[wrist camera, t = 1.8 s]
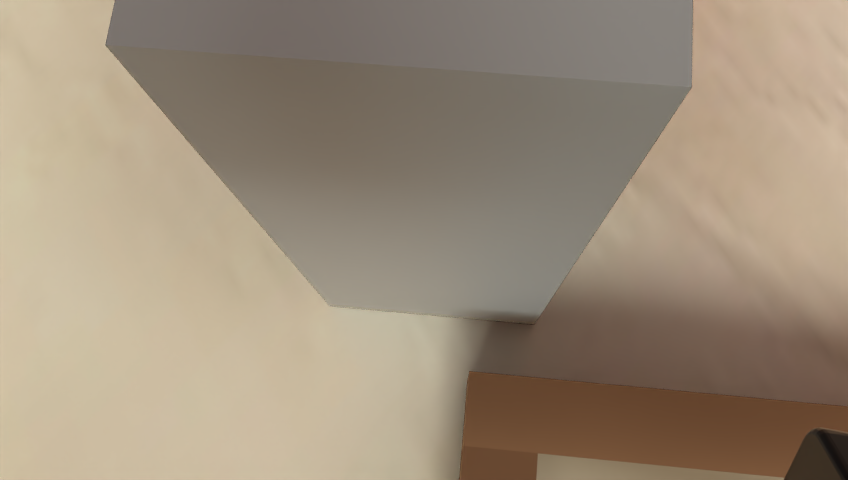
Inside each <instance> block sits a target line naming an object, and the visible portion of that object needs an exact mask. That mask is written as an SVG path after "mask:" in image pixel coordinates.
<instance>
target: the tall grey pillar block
mask: <svg viewBox="0 0 848 480" xmlns="http://www.w3.org/2000/svg"><path fill="white" fill-rule="evenodd" d="M692 25H693V0H115V3H114V8H113V12H112V17H111V21H110V26H109V31H108V35H107V40H106V44H105V45H106V46H107V48H108V49H109V50H110V51H111V52H112V53H113V55H114V56H115V57H116V58H117V59H118V60H119V61H120V63H121V64H122V65H123V66H124V67H125V68H126V70H127V71H128V72H129V73H130V74H131V75H132V77H133V78H134V79H135V80H136V81H137V82H138V84H139V85H140V86H141V87H142V88H143V89H144V91H145V92H146V93H147V94H148V95H149V96H150V98H151V99H152V100H153V101H154V102H155V103H156V105H157V106H158V107H159V108H160V109H161V110H162V112H163V113H164V114H165V115H166V116H167V117H168V119H169V120H170V121H171V122H172V123H173V124H174V126H175V127H176V128H177V129H178V130H179V131H180V132H181V134H182V135H183V136H184V137H185V138H186V139H187V141H188V142H189V143H190V144H191V145H192V146H193V148H194V149H195V150H196V151H197V152H198V153H199V155H200V156H201V157H202V158H203V159H204V160H205V162H206V163H207V164H208V165H209V166H210V167H211V169H212V170H213V171H214V172H215V173H216V174H217V176H218V177H219V178H220V179H221V180H222V181H223V183H224V184H225V185H226V186H227V187H228V188H229V190H230V191H231V192H232V193H233V194H234V195H235V196H236V198H237V199H238V200H239V201H240V202H241V203H242V205H243V206H244V207H245V208H246V209H247V210H248V212H249V213H250V214H251V215H252V216H253V217H254V219H255V220H256V221H257V222H258V223H259V224H260V226H261V227H262V228H263V229H264V230H265V231H266V233H267V234H268V235H269V236H270V237H271V238H272V240H273V241H274V242H275V243H276V244H277V245H278V247H279V248H280V249H281V250H282V251H283V252H284V254H285V255H286V256H287V257H288V258H289V259H290V260H291V262H292V263H293V264H294V265H295V266H296V267H297V269H298V270H299V271H300V272H301V273H302V274H303V276H304V277H305V278H306V279H307V280H308V281H309V283H310V284H311V285H312V286H313V287H314V288H315V290H316V291H317V292H318V293H319V294H320V295H321V297H322V298H323V299H324V300H325V301H326V302H327V304H328V305H329V306H334V307H345V308H357V309H368V310H379V311H390V312H401V313H412V314H424V315H435V316H446V317H457V318H468V319H479V320H491V321H502V322H513V323H524V324H535V323H536V321H537V320H538V318H539V317H540V315H541V314H542V312H543V311H544V309H545V308H546V306H547V305H548V303H549V302H550V300H551V299H552V297H553V296H554V294H555V292H556V291H557V289H558V288H559V286H560V285H561V283H562V282H563V280H564V279H565V277H566V276H567V274H568V273H569V271H570V270H571V268H572V267H573V265H574V264H575V262H576V261H577V259H578V258H579V256H580V255H581V253H582V252H583V250H584V249H585V247H586V246H587V244H588V243H589V241H590V240H591V238H592V237H593V235H594V234H595V232H596V231H597V229H598V228H599V226H600V225H601V223H602V222H603V220H604V219H605V217H606V216H607V214H608V213H609V211H610V210H611V208H612V207H613V205H614V204H615V202H616V201H617V199H618V198H619V196H620V194H621V193H622V191H623V190H624V188H625V187H626V185H627V184H628V182H629V181H630V179H631V178H632V176H633V175H634V173H635V172H636V170H637V169H638V167H639V166H640V164H641V163H642V161H643V160H644V158H645V157H646V155H647V154H648V152H649V151H650V149H651V148H652V146H653V145H654V143H655V142H656V140H657V139H658V137H659V136H660V134H661V133H662V131H663V130H664V128H665V127H666V125H667V124H668V122H669V121H670V119H671V118H672V116H673V115H674V113H675V112H676V110H677V109H678V107H679V106H680V104H681V103H682V101H683V100H684V98H685V96H686V95H687V93H688V92H689V90H690V89H691V87H692Z"/></svg>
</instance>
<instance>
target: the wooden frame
mask: <svg viewBox="0 0 848 480" xmlns="http://www.w3.org/2000/svg"><path fill="white" fill-rule="evenodd" d="M818 427H822V428H828V429H833V430H839V431H844V432H848V407H847V406H836V405H826V404H815V403H804V402H793V401H783V400H772V399H761V398H751V397H740V396H729V395H718V394H708V393H697V392H686V391H675V390H665V389H654V388H643V387H633V386H622V385H611V384H600V383H590V382H579V381H568V380H558V379H547V378H536V377H525V376H515V375H504V374H493V373H483V372H472V371H469V376H468V380H467V391H466V403H465V415H464V427H463V440H462V452H461V464H460V477H459V480H784V478H785V476H786V474H787V472H788V470H789V468H790V466H791V464H792V462H793V460H794V458H795V456H796V453H797V451H798V449H799V447H800V445H801V443H802V441H803V439H804V438H805V436H806V434H807V433H808V432H809V431H810V430H812V429H814V428H818Z"/></svg>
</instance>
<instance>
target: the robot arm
mask: <svg viewBox="0 0 848 480" xmlns="http://www.w3.org/2000/svg"><path fill="white" fill-rule="evenodd" d="M784 480H848V432H844V431H839V430H833V429H828V428H822V427H818V428H814V429H812V430H810V431H809V432H808V433H807V434H806V436H805V438H804V439H803V441H802V443H801V445H800V447H799V449H798V451H797V453H796V456H795V458H794V460H793V462H792V464H791V466H790V468H789V470H788V472H787V474H786V476H785V478H784Z"/></svg>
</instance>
